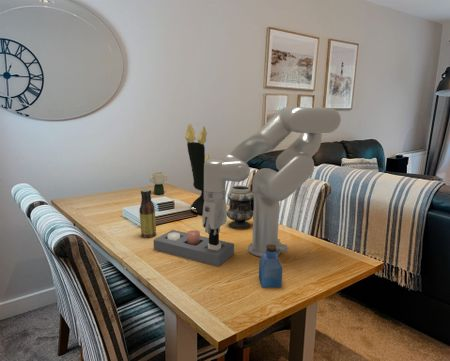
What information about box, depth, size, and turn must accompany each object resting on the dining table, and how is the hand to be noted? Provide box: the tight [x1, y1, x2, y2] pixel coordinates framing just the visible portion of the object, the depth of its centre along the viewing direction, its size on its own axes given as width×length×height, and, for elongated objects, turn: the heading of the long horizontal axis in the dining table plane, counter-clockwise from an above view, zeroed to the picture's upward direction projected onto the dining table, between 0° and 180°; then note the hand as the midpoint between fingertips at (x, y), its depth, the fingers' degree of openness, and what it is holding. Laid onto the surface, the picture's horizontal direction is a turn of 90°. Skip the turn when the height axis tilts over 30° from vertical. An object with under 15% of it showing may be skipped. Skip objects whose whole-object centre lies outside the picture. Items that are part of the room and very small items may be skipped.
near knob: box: [208, 242, 221, 251], centre depth 124 cm, size 5×5×5 cm
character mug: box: [149, 171, 168, 195], centre depth 207 cm, size 11×7×13 cm, turn 120°
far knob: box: [167, 232, 180, 241], centre depth 132 cm, size 5×5×5 cm
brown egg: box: [186, 230, 201, 246], centre depth 128 cm, size 5×5×5 cm
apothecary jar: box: [226, 184, 254, 230], centre depth 155 cm, size 12×12×18 cm
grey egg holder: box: [153, 229, 235, 268], centre depth 128 cm, size 28×12×4 cm, turn 62°
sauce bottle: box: [138, 188, 157, 239], centre depth 141 cm, size 7×6×20 cm
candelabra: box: [184, 123, 210, 216], centre depth 170 cm, size 19×22×45 cm
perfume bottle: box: [258, 244, 283, 288], centre depth 107 cm, size 6×6×12 cm
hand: (213, 244), depth 124 cm, fingers closed
